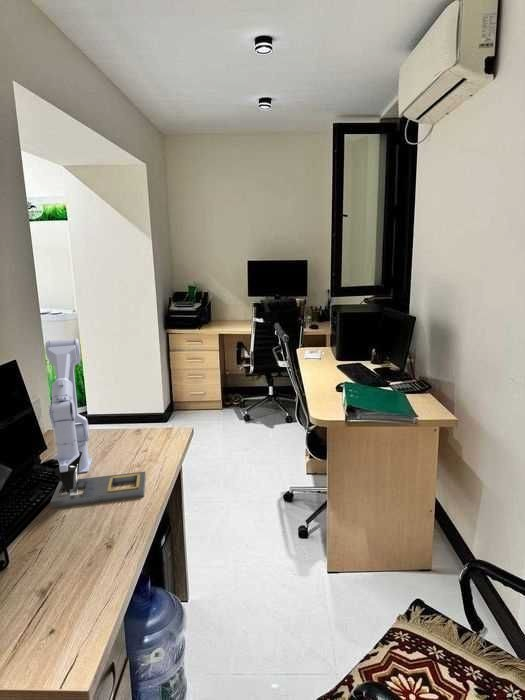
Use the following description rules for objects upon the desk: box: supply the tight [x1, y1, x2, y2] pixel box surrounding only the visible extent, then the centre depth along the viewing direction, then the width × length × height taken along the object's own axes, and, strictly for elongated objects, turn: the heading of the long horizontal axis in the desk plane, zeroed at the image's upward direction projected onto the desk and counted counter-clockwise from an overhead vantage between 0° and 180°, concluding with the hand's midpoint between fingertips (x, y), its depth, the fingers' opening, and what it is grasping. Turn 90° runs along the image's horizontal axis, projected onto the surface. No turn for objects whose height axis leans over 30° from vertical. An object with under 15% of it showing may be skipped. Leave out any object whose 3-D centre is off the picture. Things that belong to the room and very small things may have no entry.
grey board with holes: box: [49, 471, 147, 509], centre depth 141 cm, size 12×26×2 cm, turn 101°
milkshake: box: [64, 465, 79, 496], centre depth 138 cm, size 4×5×10 cm
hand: (71, 482), depth 138 cm, fingers open, 7 cm apart
